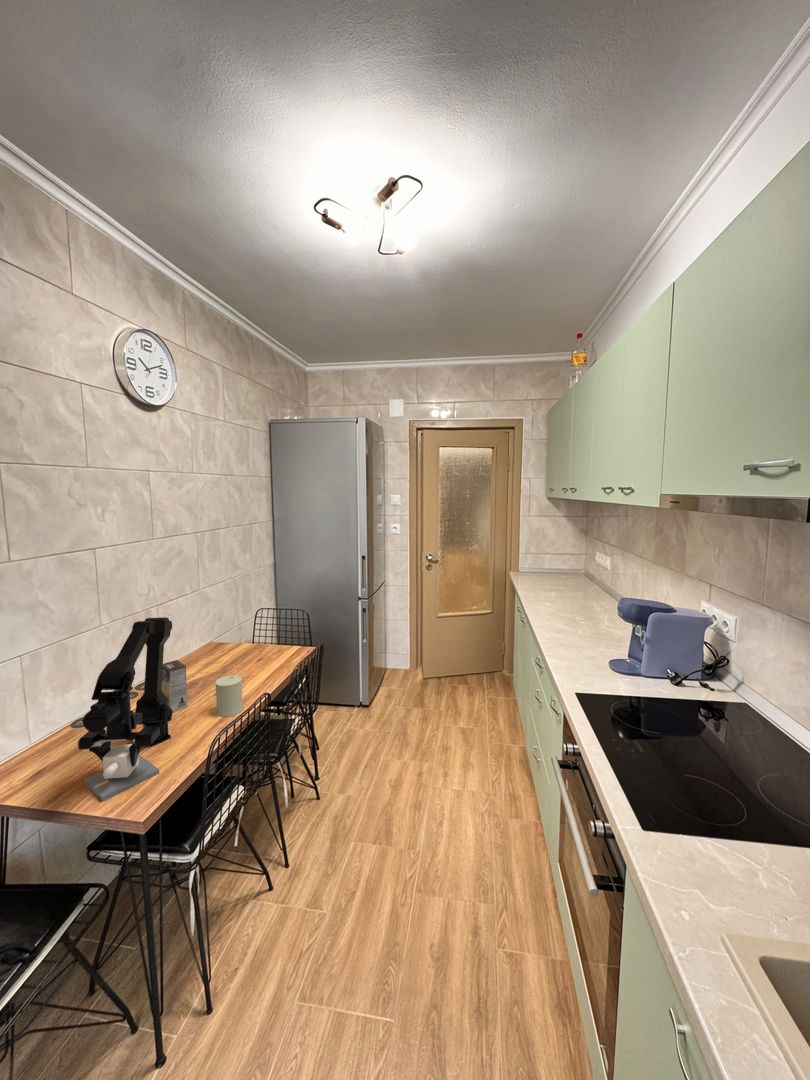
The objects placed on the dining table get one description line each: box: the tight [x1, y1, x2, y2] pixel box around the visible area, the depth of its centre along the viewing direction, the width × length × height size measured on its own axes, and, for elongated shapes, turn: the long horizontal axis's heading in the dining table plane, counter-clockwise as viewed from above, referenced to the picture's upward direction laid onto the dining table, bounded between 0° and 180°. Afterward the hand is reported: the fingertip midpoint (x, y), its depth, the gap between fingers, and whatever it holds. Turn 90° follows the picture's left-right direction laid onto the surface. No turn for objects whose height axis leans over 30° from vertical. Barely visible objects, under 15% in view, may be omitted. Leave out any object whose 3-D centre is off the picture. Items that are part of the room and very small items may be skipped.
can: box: [214, 674, 244, 717], centre depth 158 cm, size 9×9×12 cm
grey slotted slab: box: [83, 754, 160, 802], centre depth 120 cm, size 14×12×5 cm
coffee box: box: [162, 659, 188, 713], centre depth 161 cm, size 9×6×16 cm
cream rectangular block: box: [102, 743, 139, 779], centre depth 118 cm, size 6×10×6 cm, turn 6°
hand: (121, 766), depth 120 cm, fingers closed on cream rectangular block, 6 cm apart
